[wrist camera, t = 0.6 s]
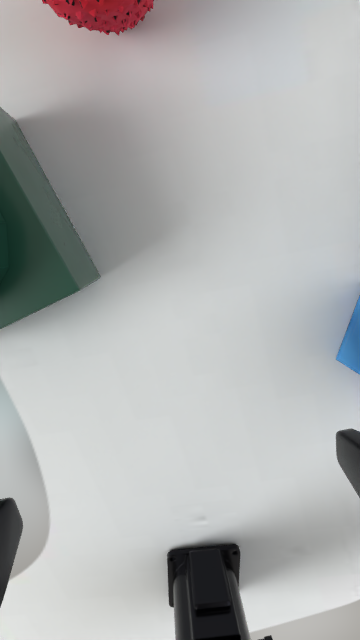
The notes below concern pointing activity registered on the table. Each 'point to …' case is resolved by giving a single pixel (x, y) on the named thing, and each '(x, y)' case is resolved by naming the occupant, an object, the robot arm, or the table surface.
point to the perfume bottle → (351, 342)
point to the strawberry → (102, 13)
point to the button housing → (34, 234)
